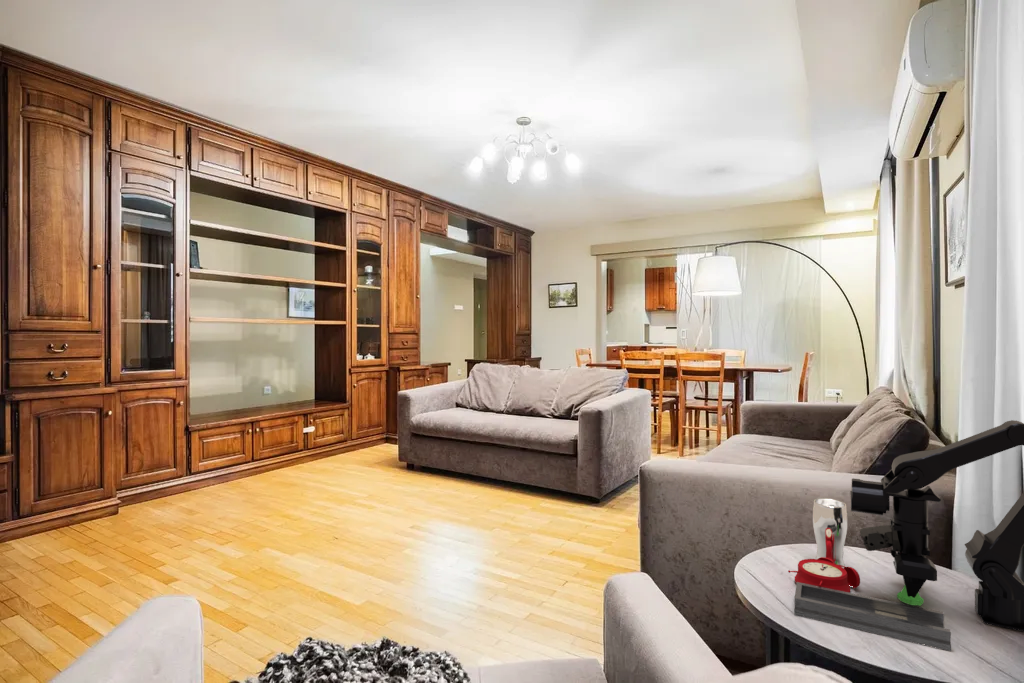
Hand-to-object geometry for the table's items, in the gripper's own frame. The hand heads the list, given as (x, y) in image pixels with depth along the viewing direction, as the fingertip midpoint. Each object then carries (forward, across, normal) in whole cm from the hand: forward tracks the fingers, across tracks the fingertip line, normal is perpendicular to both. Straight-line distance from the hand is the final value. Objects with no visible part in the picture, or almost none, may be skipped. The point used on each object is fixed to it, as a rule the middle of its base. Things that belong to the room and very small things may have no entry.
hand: (910, 594), depth 108 cm
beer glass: (+2, -11, -14) cm, 18 cm away
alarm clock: (+2, 0, -15) cm, 15 cm away
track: (+2, +12, -8) cm, 14 cm away
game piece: (+1, 0, 0) cm, 1 cm away
